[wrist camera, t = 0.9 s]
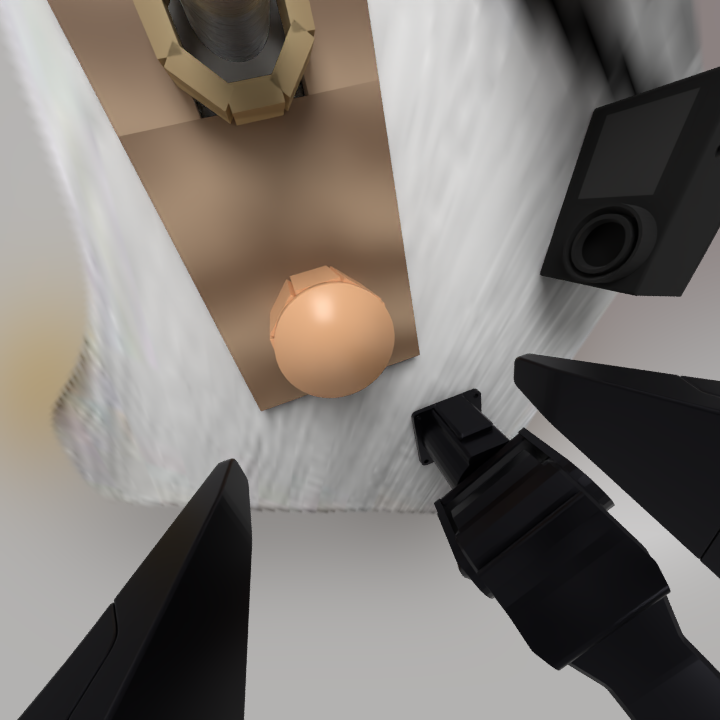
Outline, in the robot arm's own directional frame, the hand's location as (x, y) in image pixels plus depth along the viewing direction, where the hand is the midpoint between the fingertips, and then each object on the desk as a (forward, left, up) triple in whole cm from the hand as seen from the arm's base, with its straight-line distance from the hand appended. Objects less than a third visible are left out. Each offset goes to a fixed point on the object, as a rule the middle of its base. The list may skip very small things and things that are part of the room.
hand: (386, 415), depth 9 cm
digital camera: (+2, -20, -12) cm, 23 cm away
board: (+5, 0, -12) cm, 13 cm away
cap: (0, 0, -11) cm, 11 cm away
